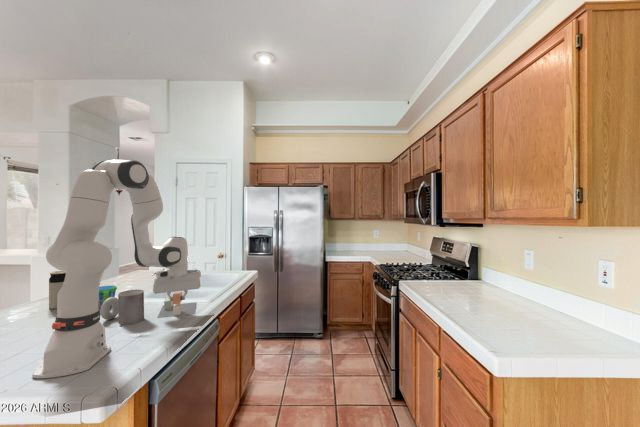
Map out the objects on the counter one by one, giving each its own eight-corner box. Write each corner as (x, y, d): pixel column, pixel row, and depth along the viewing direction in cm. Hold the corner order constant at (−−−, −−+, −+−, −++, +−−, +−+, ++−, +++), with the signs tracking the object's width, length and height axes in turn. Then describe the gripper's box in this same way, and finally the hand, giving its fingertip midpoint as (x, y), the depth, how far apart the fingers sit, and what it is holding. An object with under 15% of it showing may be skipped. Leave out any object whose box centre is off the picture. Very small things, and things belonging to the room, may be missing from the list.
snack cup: (92, 305, 160) (92, 286, 160) (116, 302, 166) (116, 283, 166) (90, 313, 147) (90, 292, 147) (117, 309, 153) (117, 289, 153)
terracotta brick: (179, 303, 142) (179, 295, 142) (172, 304, 141) (172, 295, 141) (182, 300, 148) (182, 292, 148) (175, 300, 147) (175, 292, 147)
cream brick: (180, 314, 142) (180, 306, 142) (173, 315, 141) (173, 306, 141) (181, 311, 148) (181, 302, 148) (174, 311, 147) (174, 303, 147)
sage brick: (170, 309, 151) (171, 300, 151) (164, 309, 150) (164, 301, 150) (172, 305, 156) (172, 297, 156) (165, 306, 155) (165, 298, 155)
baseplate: (195, 316, 144) (195, 314, 144) (156, 320, 138) (156, 317, 138) (196, 304, 162) (196, 302, 162) (162, 307, 157) (162, 305, 157)
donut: (105, 323, 134) (105, 300, 134) (98, 323, 135) (98, 300, 135) (122, 315, 144) (122, 294, 144) (115, 315, 145) (115, 294, 145)
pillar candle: (128, 319, 140) (128, 286, 140) (149, 319, 139) (148, 286, 139) (112, 327, 130) (112, 292, 130) (134, 327, 130) (134, 292, 129)
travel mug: (64, 308, 155) (64, 272, 155) (45, 309, 153) (45, 273, 153) (72, 304, 162) (72, 270, 162) (54, 305, 160) (54, 270, 160)
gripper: (199, 268, 153) (199, 295, 153) (152, 271, 142) (152, 301, 142) (201, 270, 147) (201, 298, 147) (153, 274, 137) (153, 305, 137)
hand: (177, 300), depth 144 cm, fingers closed on terracotta brick, 4 cm apart
